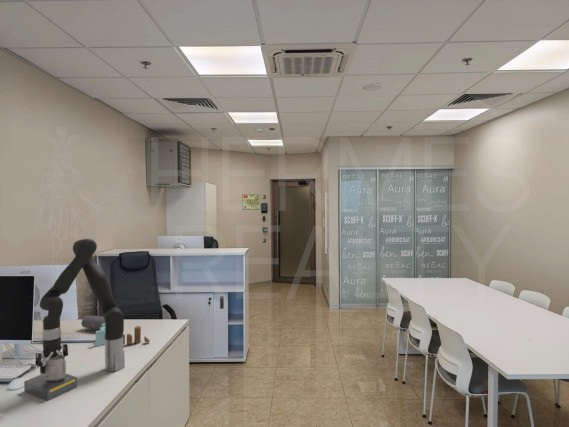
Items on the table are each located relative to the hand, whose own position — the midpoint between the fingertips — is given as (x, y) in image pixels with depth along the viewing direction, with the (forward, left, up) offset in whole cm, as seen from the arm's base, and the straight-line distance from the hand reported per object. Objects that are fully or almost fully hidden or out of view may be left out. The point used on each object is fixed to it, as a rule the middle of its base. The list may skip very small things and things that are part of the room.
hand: (52, 369), depth 173 cm
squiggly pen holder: (+35, -55, -10) cm, 66 cm away
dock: (+2, 0, -10) cm, 10 cm away
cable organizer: (0, 0, -5) cm, 5 cm away
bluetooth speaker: (+59, -67, -10) cm, 90 cm away
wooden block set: (+12, -59, -10) cm, 61 cm away
